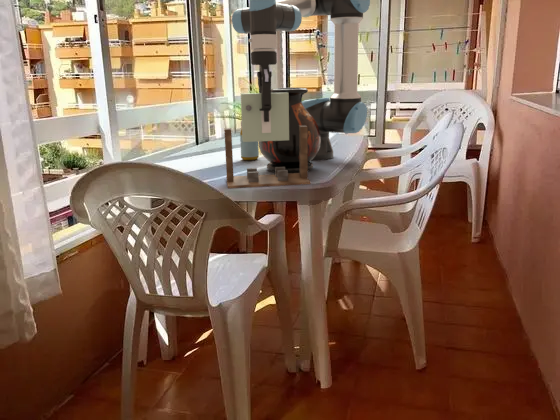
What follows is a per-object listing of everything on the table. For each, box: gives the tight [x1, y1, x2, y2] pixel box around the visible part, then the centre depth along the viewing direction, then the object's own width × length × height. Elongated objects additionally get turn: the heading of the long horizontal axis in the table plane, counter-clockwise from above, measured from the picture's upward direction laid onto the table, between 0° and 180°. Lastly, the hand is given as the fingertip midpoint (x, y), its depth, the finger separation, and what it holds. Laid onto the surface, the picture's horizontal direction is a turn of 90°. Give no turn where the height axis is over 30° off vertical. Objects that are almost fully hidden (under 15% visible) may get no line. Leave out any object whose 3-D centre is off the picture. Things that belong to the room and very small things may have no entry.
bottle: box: [239, 120, 260, 161], centre depth 195 cm, size 7×7×15 cm
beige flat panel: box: [240, 92, 289, 142], centre depth 148 cm, size 14×4×14 cm, turn 98°
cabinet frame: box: [223, 125, 312, 189], centre depth 152 cm, size 25×13×18 cm, turn 98°
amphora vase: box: [258, 87, 321, 174], centre depth 170 cm, size 22×22×28 cm
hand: (265, 131), depth 150 cm, fingers closed on beige flat panel, 3 cm apart
